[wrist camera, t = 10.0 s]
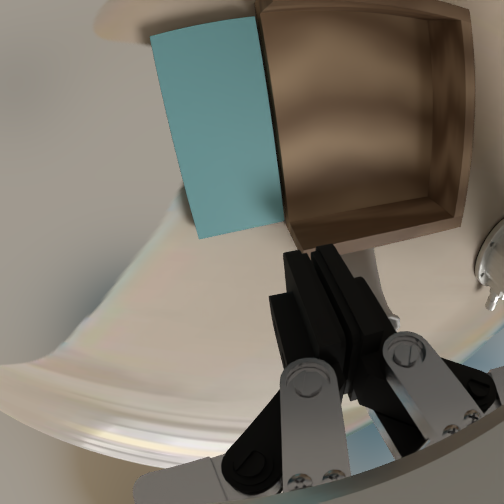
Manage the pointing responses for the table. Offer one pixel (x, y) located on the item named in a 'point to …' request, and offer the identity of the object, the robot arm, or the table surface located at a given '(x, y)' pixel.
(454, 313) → the table surface
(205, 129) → the teal panel
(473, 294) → the table surface
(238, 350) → the table surface
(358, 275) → the flask
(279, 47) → the crate
